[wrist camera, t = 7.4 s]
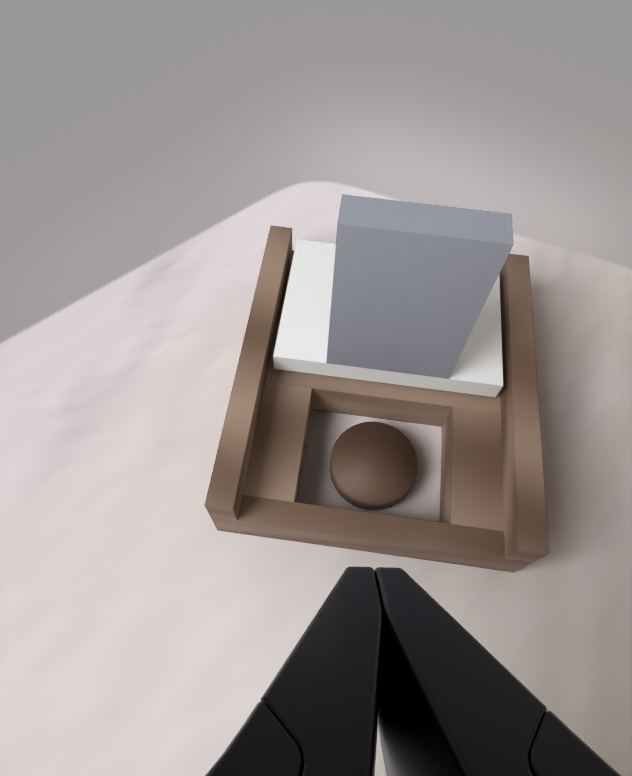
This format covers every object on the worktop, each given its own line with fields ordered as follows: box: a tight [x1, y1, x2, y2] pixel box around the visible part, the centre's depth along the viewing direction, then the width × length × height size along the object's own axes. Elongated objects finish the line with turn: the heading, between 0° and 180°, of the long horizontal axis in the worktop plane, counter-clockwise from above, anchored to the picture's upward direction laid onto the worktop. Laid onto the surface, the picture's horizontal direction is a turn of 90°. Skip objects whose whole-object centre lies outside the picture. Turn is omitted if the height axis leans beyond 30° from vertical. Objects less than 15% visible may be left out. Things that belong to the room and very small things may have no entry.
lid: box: [273, 194, 513, 397], centre depth 21 cm, size 6×9×9 cm
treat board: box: [205, 226, 549, 572], centre depth 24 cm, size 14×12×4 cm
